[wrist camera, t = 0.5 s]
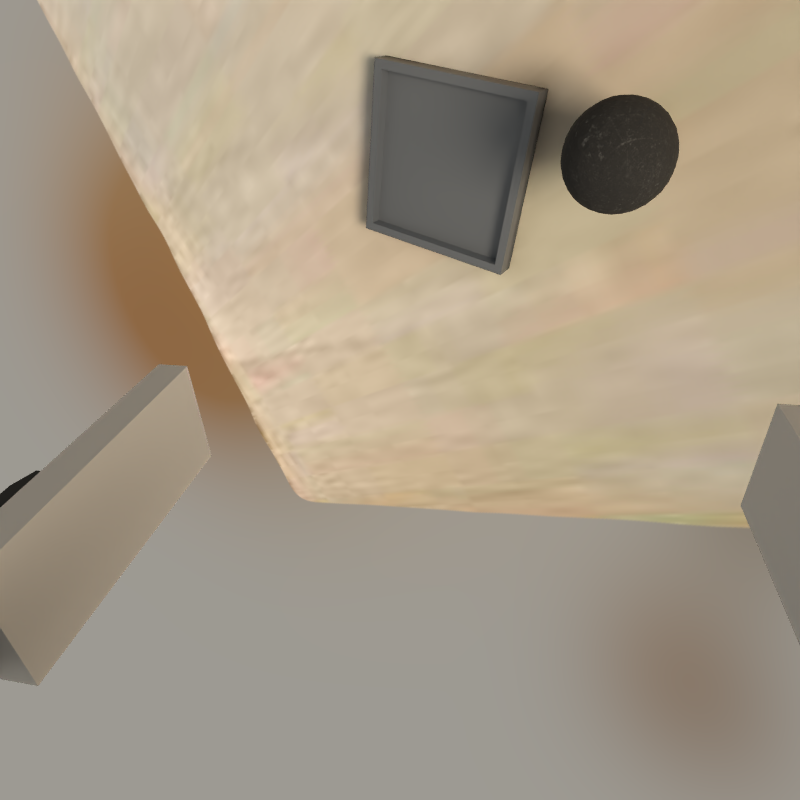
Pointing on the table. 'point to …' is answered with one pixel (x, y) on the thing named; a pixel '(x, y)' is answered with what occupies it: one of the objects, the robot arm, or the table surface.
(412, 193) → the tray
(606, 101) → the light bulb
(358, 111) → the table surface
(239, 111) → the table surface
